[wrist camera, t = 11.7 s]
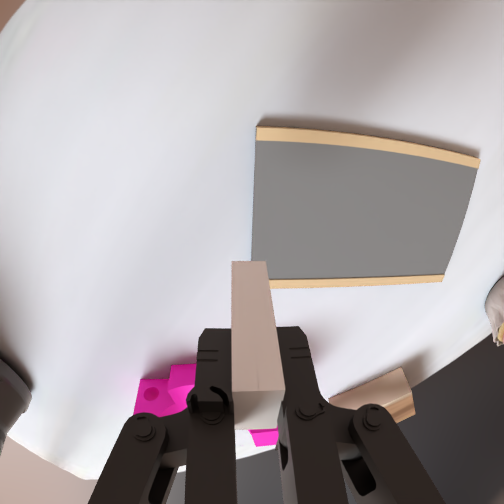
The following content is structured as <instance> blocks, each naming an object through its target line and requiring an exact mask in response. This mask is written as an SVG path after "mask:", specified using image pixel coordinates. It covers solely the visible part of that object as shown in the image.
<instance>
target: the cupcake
mask: <svg viewBox="0 0 504 504" xmlns="http://www.w3.org/2000/svg"><path fill="white" fill-rule="evenodd" d="M485 311H486V313H487V316H488V318H489V321H490V324H491V327H492V332H493V341H494V342H497V345H498V346H500V345H502V344H503V343H504V277H502V278H501V279H500V280H499V281H498V282H497V283H496V284H495V285H494V287H493V288H492V290H491V291H490V293H489V294H488V297H487V299H486V302H485Z"/></svg>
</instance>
